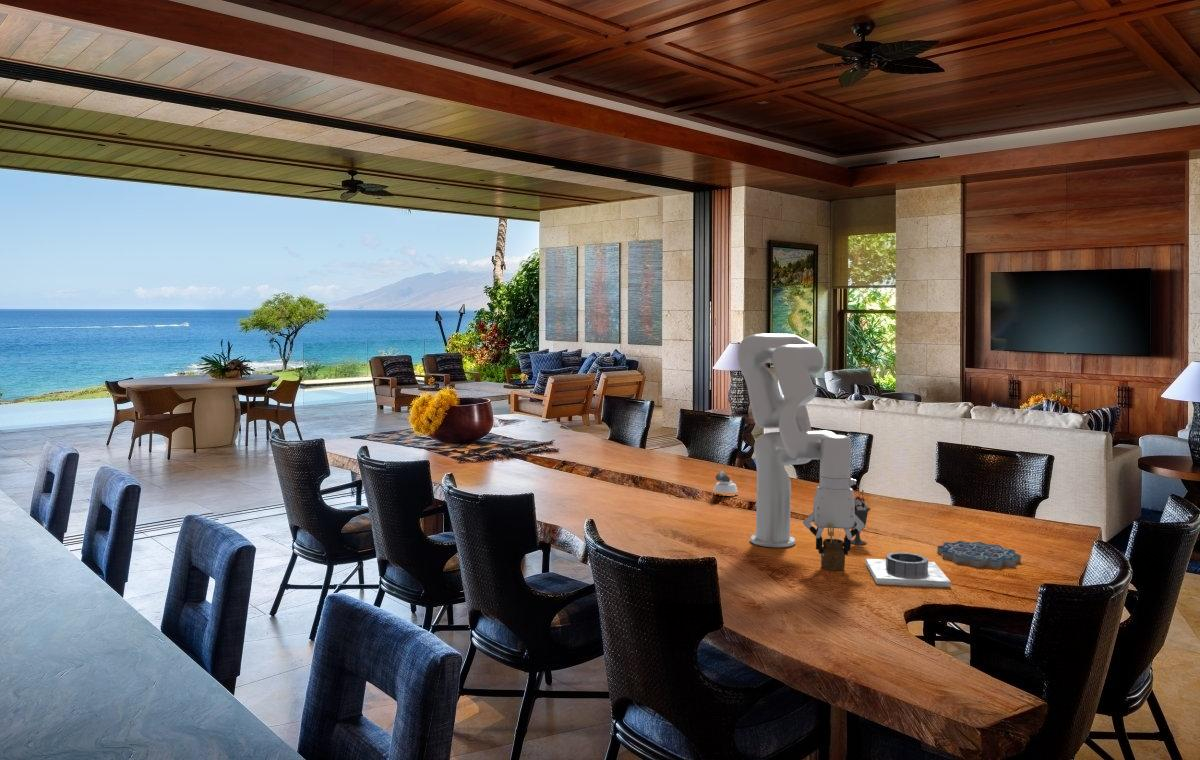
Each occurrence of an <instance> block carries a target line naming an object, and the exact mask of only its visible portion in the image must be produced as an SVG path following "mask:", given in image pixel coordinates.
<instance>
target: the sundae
mask: <svg viewBox="0 0 1200 760" xmlns="http://www.w3.org/2000/svg"><path fill="white" fill-rule="evenodd" d="M861 495H862V497H860V496H861ZM865 501H866V499H865V497H864V490H861V493H860V494H858V495H857V496H856V497H854V506H855V515H856V516H857V517H858V518H859V519H860V520H861V521H862V522H863V523H864V525H865V527H866V525H867V524H866V523H867V520H868V513H869V512H870V511H871V508H870V507H868V506H869V505H868V504H867V502H865ZM856 526H857V523H856V522H855V525H854V527H852V528H851V529H853V528H855V527H856ZM865 527H864V528H863V529H862V530H860V531H859V532H858V533H857V534H856V535H855V536H854V539H851V545H855V546H865V545H867V542H866V541H863V540H862V539H861V531H863V530H864V529H865Z"/></svg>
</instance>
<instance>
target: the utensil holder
mask: <svg viewBox="0 0 1200 760" xmlns="http://www.w3.org/2000/svg"><path fill="white" fill-rule="evenodd" d="M827 525H828V528H827V535H828V536H829V537H830V538H825V539H823V543H822V553H821V554H820V565H821V568H822V569H824V570H828V571H833V572H834V571H843V570H844V569H845V566H846V555H845V550H844V540H841V539H840V537H841V536H838V537H835V528H834V525H832V528H831V524H830V528H829V524H827ZM836 529H837V534H839V535H841V533H842V532H840V529H839V528H836ZM834 537H835V538H834Z"/></svg>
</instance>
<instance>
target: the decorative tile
mask: <svg viewBox="0 0 1200 760" xmlns="http://www.w3.org/2000/svg"><path fill="white" fill-rule="evenodd" d="M936 549H937V551H936V553H937V554H938V553H940V554H939V555H941V554H943V555H941V556H942V559H943V558H946V559H945V560H948V559H951V560H950V561H952V560H953V562H954V564H956V563H960V564H959V565H966V564H968V566H971V567H973V568H991V569H998V570H1000V569H1001V568H1003V567H1006V568H1016V564H1021V563H1022V562H1021V561H1022V555H1021V554H1018V553H1016V550H1015V549H1011V548H1005V547H1002V546H1001V545H1000V544H990V543H989V544H988V543H984V542H982V541H975V542H973V541H972V542H971V541H970V542H969V541H963V540H958V541H956V542H947V541H946V542H943V545H937V548H936Z"/></svg>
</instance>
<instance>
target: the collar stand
mask: <svg viewBox="0 0 1200 760" xmlns="http://www.w3.org/2000/svg"><path fill="white" fill-rule="evenodd" d="M865 566H866V567H867V569H868V571H869V573H870V574H871V576H872V578H873V580H874V582H875V584H877V585H888V586H889V585H890V586H906V587H907V586H908V587H927V588H928V587H929V588H943V587H950V588H949V589H951V588H952V581H951V580H950V579H949V578H948V577H947V575H946V574H945V573H944V571H943V570H942V569H941V568H940V567H939V566H938V565H937V563H936V562H935V561H929V559H928V558H927V557H926V556H923V555H921V554H917V553H911V552H898V551H897V552H890V553H887V554H886V555H885V559H882V558H865Z"/></svg>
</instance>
